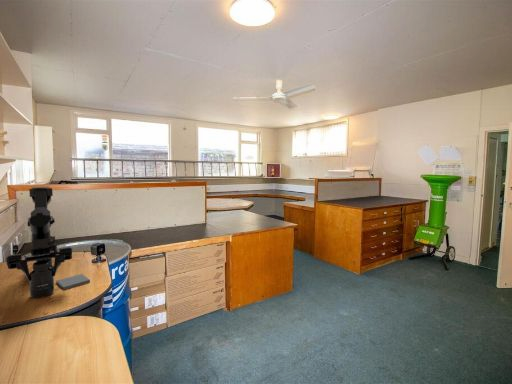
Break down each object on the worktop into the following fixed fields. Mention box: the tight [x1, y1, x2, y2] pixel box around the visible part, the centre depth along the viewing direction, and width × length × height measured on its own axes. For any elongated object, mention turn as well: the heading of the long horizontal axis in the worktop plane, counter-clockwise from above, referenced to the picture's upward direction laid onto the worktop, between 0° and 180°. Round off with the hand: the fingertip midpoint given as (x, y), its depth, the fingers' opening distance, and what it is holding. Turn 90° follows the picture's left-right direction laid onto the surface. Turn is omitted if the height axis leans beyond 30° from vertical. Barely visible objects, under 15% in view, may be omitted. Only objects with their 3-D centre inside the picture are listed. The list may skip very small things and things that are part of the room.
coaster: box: [55, 273, 91, 290], centre depth 105 cm, size 9×9×1 cm
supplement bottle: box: [29, 261, 55, 299], centre depth 94 cm, size 7×7×12 cm
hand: (41, 278), depth 93 cm, fingers closed on supplement bottle, 7 cm apart
